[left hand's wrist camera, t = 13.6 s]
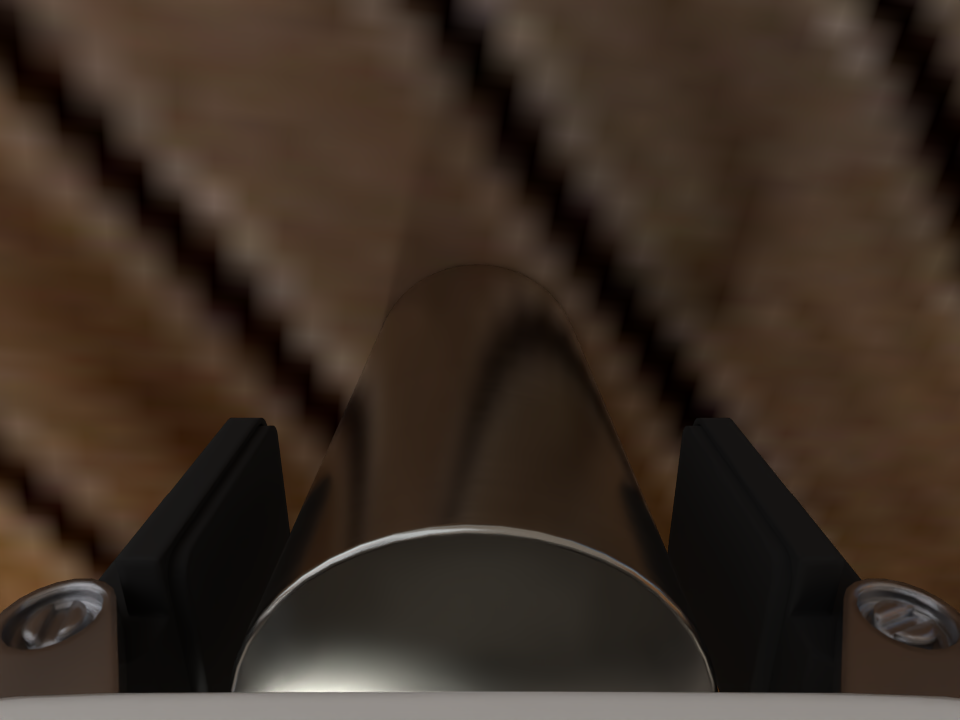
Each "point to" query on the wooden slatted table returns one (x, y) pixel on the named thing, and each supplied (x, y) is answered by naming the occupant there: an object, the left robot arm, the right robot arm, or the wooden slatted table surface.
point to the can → (474, 521)
